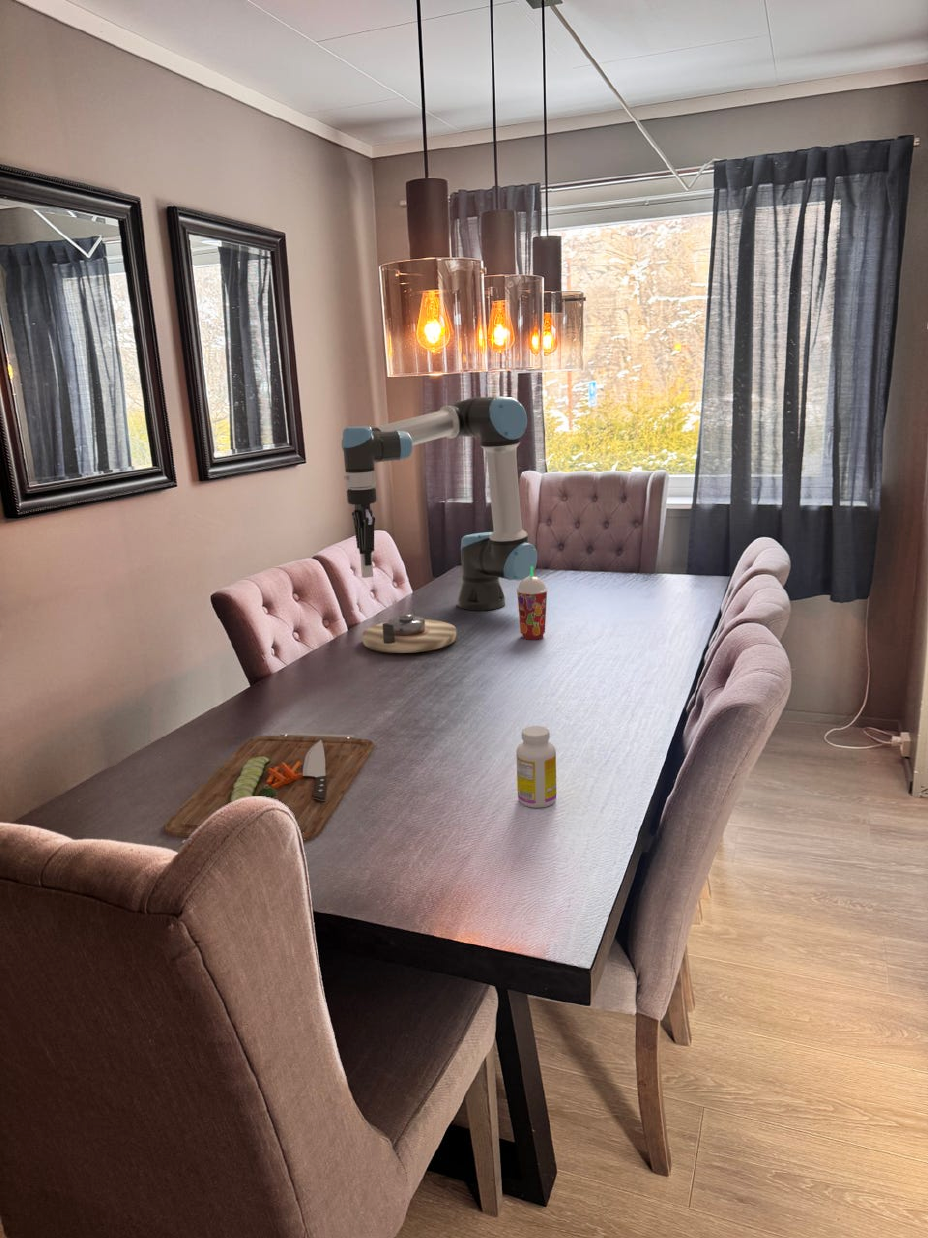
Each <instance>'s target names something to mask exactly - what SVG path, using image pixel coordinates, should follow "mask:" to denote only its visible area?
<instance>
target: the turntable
mask: <svg viewBox="0 0 928 1238" xmlns="http://www.w3.org/2000/svg"><path fill="white" fill-rule="evenodd" d="M424 619H425V618H424ZM361 634H362V635H361V636H362V643H363V646H365V647H366V648H368V649H370V650H374V651H378V652H385V653H394V654H395V653H397V654H405V653H408V654H409V653H411V654H412V653H420V652H421V653H422V652H430V651H433V650H438V649H441V648H445V647H447V646H450V645H451V644H453V643H454V642H455V641H456V640H457V637H458V636H457V635H458V634H457V628H456V626H455V625H453V624H451V623H449V622H447V621H446V622H445V621H442V620H436V619H429V618H428V619H425V632H423V633H421V634H418V635H413V636H395V635H394V623H391V622H388V621H385V622H381V623H377V624H375V625H374V624H373V625H372V626H370V627H368V628H366V629H365V630H363V632H362V633H361Z"/></svg>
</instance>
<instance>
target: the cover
mask: <svg viewBox="0 0 928 1238" xmlns="http://www.w3.org/2000/svg"><path fill="white" fill-rule="evenodd" d="M387 622H391V623H394V635H395V636H413V635H418V634H421V633H423V632H425V618H424V617H422V616H418V615H414V614H413V613H401V614H399V615H398V616H397V617H393V618H390V619H389V620H388V621H387Z"/></svg>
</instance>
